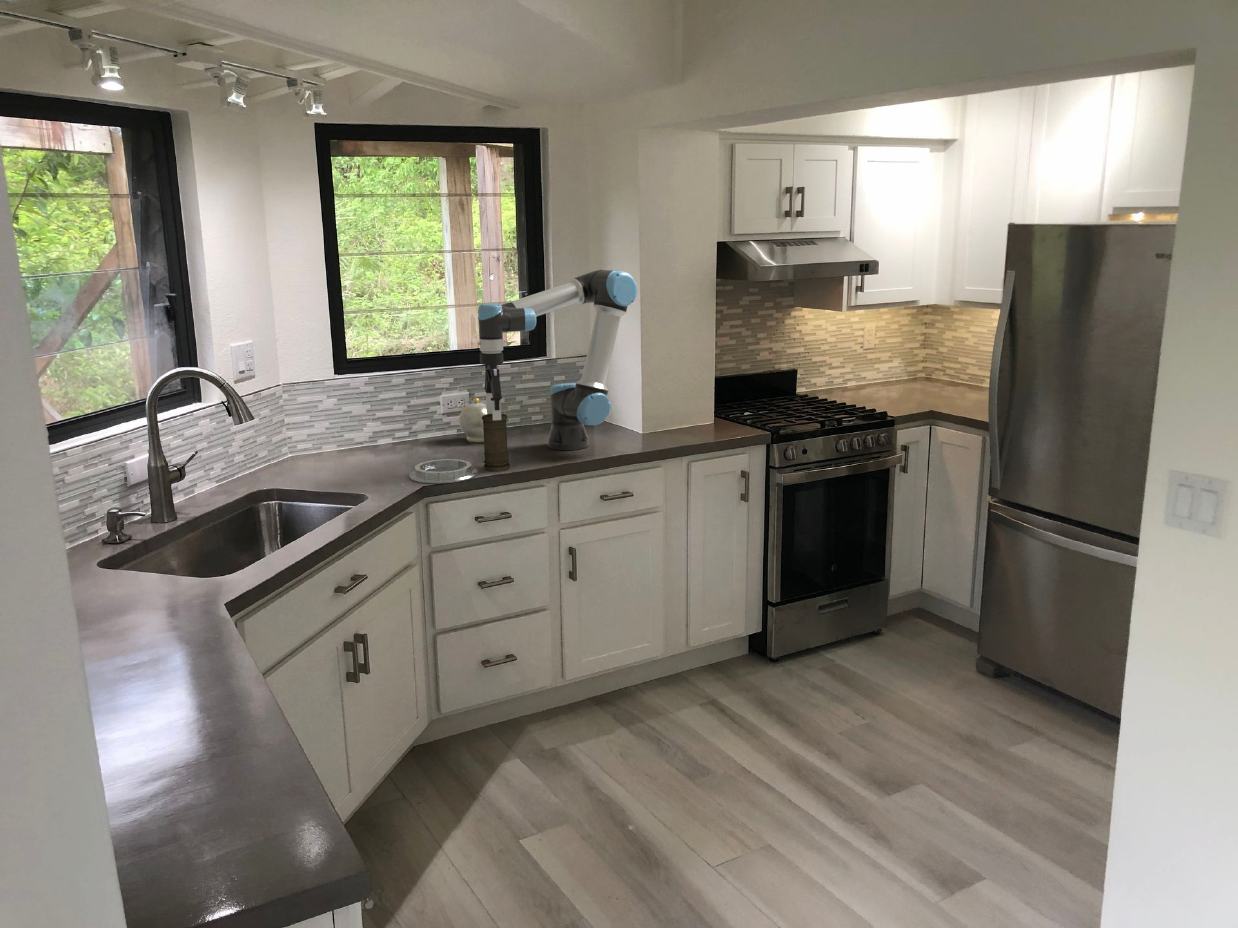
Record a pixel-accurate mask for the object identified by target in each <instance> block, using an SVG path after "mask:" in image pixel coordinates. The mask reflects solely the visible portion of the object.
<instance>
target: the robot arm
mask: <svg viewBox="0 0 1238 928" xmlns="http://www.w3.org/2000/svg"><path fill="white" fill-rule="evenodd" d="M637 294H638V286H637V282H636V281H635V279H634V277H633V276H632V275H631V274H630V273H628V272H626V271H622V270H617V269H616V270H613V269H612V270H611V269H610V270H608V269H607V270H606V269H596V270H594V271H589V272H587V273H584V274H581V275H578V276H576V277H573V278H571V279H570V280H569V281H568V282H567V283H564V284H561V285H558V286H555V287H551V288H549V289H546V290H542V291H540V292H537V293H533V294H531V295H527V296H525V297H521V298H518V299H516V300H512V301H508V302H507V303H503V304H500V303H495V302H493V303H482V304H480V305H479V306H478V312H477V314H478V315H477V316H478V317H477V320H478V336H479V337H478V338H479V341H478V342H477V345H478V346H479V351H480V353H479V363H480V364H481V365H483V366H484V369H485V370H484V371H485V373H484V387H483V388H484V391H485V404H486V412H487V413H492V414H493V420H501V414H502V402H501V400H502V399H503V396H502V387H501V380H500V379H501V378H500V369H499V368H498V365H499V366H500V365H502V364H504V352H502V351H504V338H503V333H515V332H517V333H518V332H528V331H533V330H534V329H536V326H537V317H539V316H542V315H545V314H548V313H551V312H554V311H557V310H559V309H564V308H565V307H569V306H572V305H575V304H576V305H578V306H581V305H584V304H589V303H590V304H593V308H594V309H595V311H596V314H595V318H594V321H593V326H592V331H591V335H590V340H589V344H588V348H587V353H586V358H585V362H584V366H583V370H582V374H581V375H582V376H581V378H580V379H579V380H578V381H575V382H567V383H566V382H565V383H558V384H553V385H552V386H551V387H550V395H549V396H550V411H551V414H550V415H551V428H550V431H549V434H548V437H547V448H548V449H551V450H555V451H556V450H558V451H575V450H576V451H577V450H582V449H586V448H588V447H589V445H590V439H589V436H588V434H587V430H586V428H585V425H586V426H598V425H600V424H601V423H603V422H605V420H607V418H608V416H609V414H610V411H611V409H612V408H611V406H612V405H611V401H610V399H609V397H608V394H609V388H608V386H607V385H606V383H607V378H608V375H609V374H608V373H609V370H610V365H611V361H612V357H613V352H614V348H615V343H616V338H617V335H618V330H619V326H620V322H621V317H623V316H624V315H626V314H627V311H628V307H629V306H630V305H632V303H634V302H635V300H636V298H637Z"/></svg>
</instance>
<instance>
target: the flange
mask: <svg viewBox="0 0 1238 928" xmlns="http://www.w3.org/2000/svg"><path fill="white" fill-rule="evenodd" d="M478 473H479V470H478V469H477V468H475V467H473V465H472V463H471V461H467V460H465V459H464V460H463V459H457V458H453V459H451V458H445V459H444V458H443V459H442V458H441V459H432V460H426V461H422V462H420V463H418V464H416V465H414V470H413V471H411V472H410V473H409V479H410V480H411V481H413V482H416V483H419V484H428V485H429V484H430V485H442V484H446V485H447V484H455V483H459V482H465V481H468V480H472V479H474V478H475V477H477V476H478Z"/></svg>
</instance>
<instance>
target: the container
mask: <svg viewBox="0 0 1238 928" xmlns="http://www.w3.org/2000/svg"><path fill="white" fill-rule="evenodd" d="M507 419H508V415H507V414H505V413H501V420H493V414H486V415H483V416H482V420H483V427H484V428H483V430H484V442H483V447H484V451H483V455H484V461H483V463H484V464H483V469H484V470H485V471H487V472H504V471H507V470H510V469H511V463H510V462H511V460H510V459H509V449H508V448H509V447H508V432H507V431H508V428H507V421H508V420H507Z"/></svg>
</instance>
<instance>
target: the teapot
mask: <svg viewBox="0 0 1238 928" xmlns="http://www.w3.org/2000/svg"><path fill="white" fill-rule="evenodd" d="M461 409H462V410H461V412H460V414H459V418H458V419H459V420H458V424H459V427H460V429H461V432H463V434H465V435H466V441H468V442H469V443H474V444H481V443H484V430H483V428H484V427H483V420H482V416H483V415H486V414H492V413H487V412H486V403H483V402H480V399H479V398H478V397H475V398H474V399H473V402H471V403H469V404H467V405H462V406H461Z"/></svg>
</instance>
